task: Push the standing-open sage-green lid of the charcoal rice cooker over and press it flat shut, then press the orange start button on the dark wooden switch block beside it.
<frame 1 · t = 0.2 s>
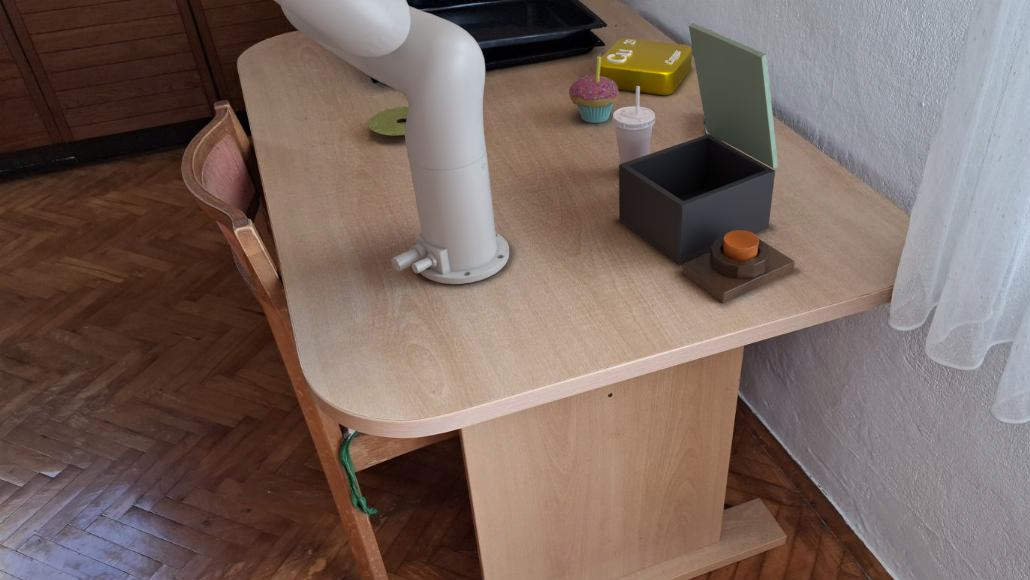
mat: (404, 131, 146), on the table
smoothie: (633, 174, 132), on the table
cooker: (693, 224, 120), on the table
cooker lid: (733, 96, 112), point 17 cm above the table, hinge at 75.0°
element tile: (644, 78, 162), on the table
packaged food: (732, 129, 144), on the table
cupcake: (594, 118, 148), on the table
switch block: (737, 272, 111), on the table
start button: (740, 245, 108), point 4 cm above the table, slide at 0.1 cm
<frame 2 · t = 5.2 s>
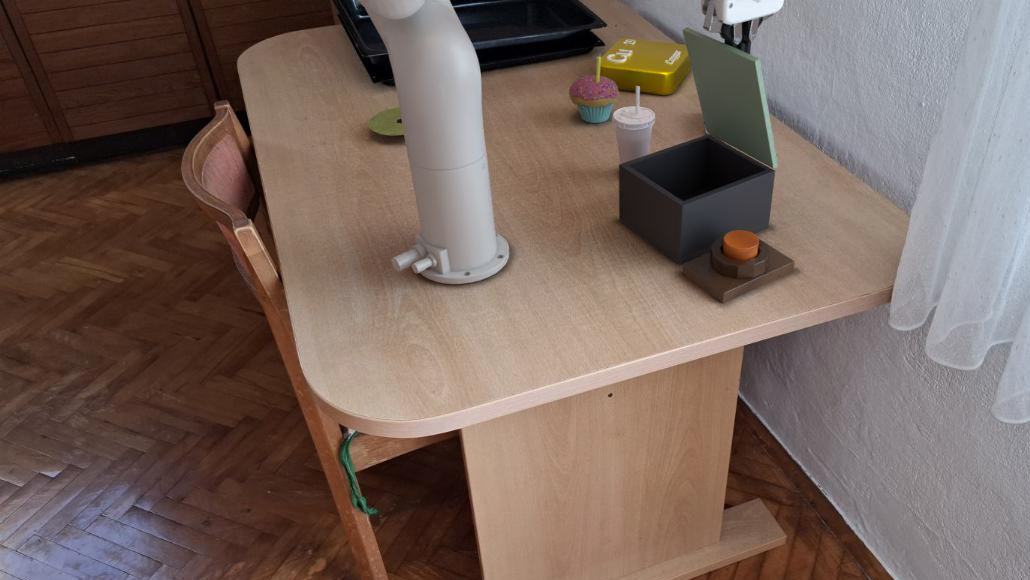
hand: (735, 70, 109), 21 cm above the table, tool pointing down, fingers closed
cooker lid: (730, 98, 112), point 17 cm above the table, hinge at 71.3°, touching gripper
everything else where it was.
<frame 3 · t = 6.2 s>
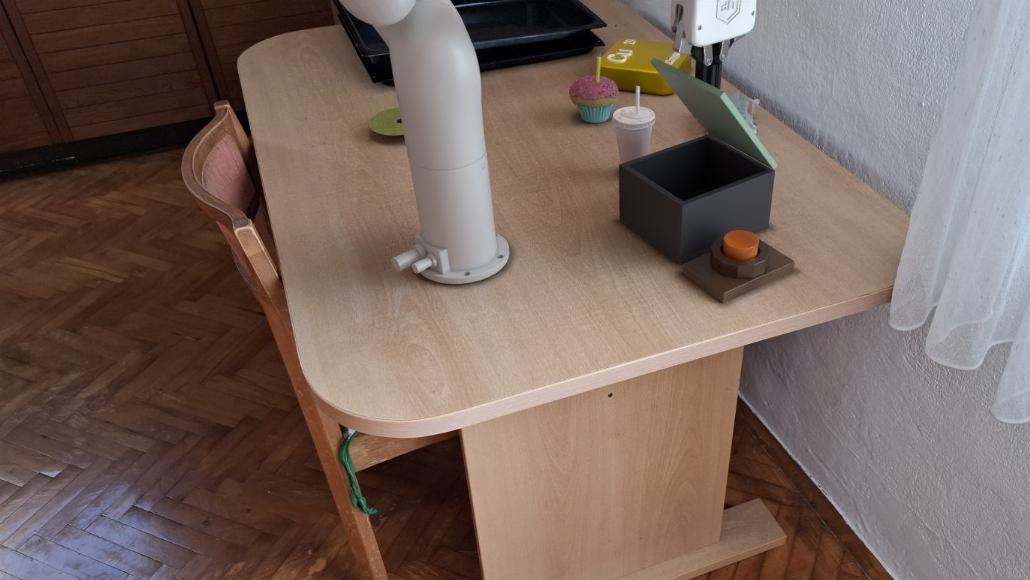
hand: (707, 90, 108), 19 cm above the table, tool pointing down, fingers closed
cooker lid: (714, 114, 111), point 16 cm above the table, hinge at 50.6°, touching gripper
everything else where it was.
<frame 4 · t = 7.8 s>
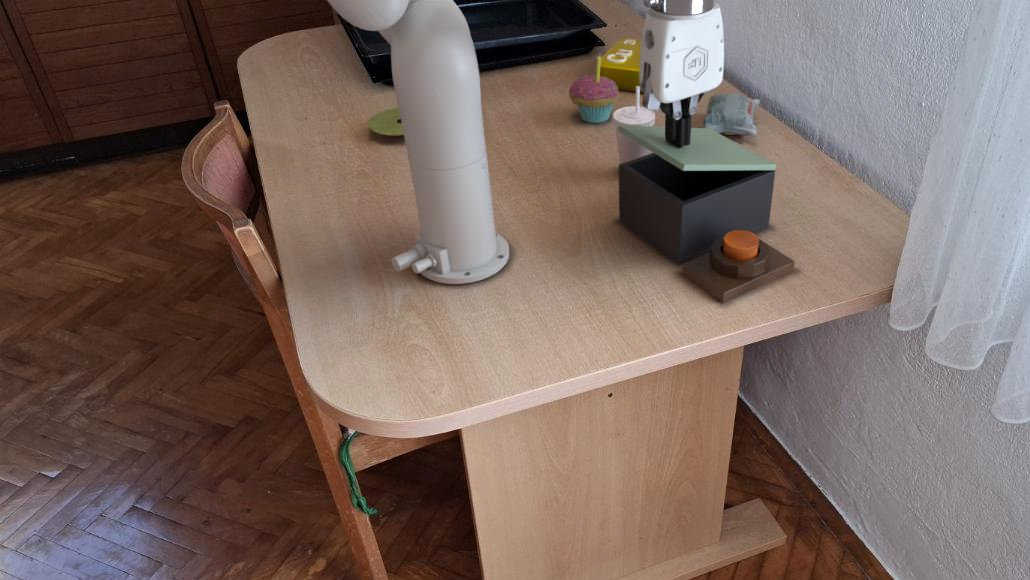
hand: (677, 142, 110), 14 cm above the table, tool pointing down, fingers closed
cooker lid: (697, 147, 113), point 12 cm above the table, hinge at 17.1°
everything else where it was.
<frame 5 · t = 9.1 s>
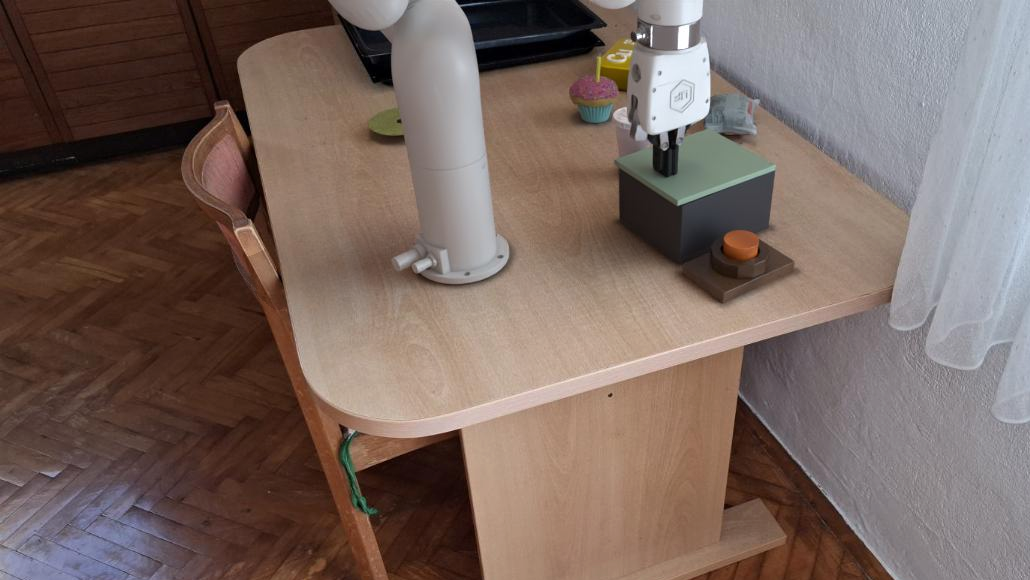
hand: (665, 171, 112), 10 cm above the table, tool pointing down, fingers closed
cooker lid: (694, 164, 114), point 9 cm above the table, hinge at 0.7°, touching gripper
everything else where it was.
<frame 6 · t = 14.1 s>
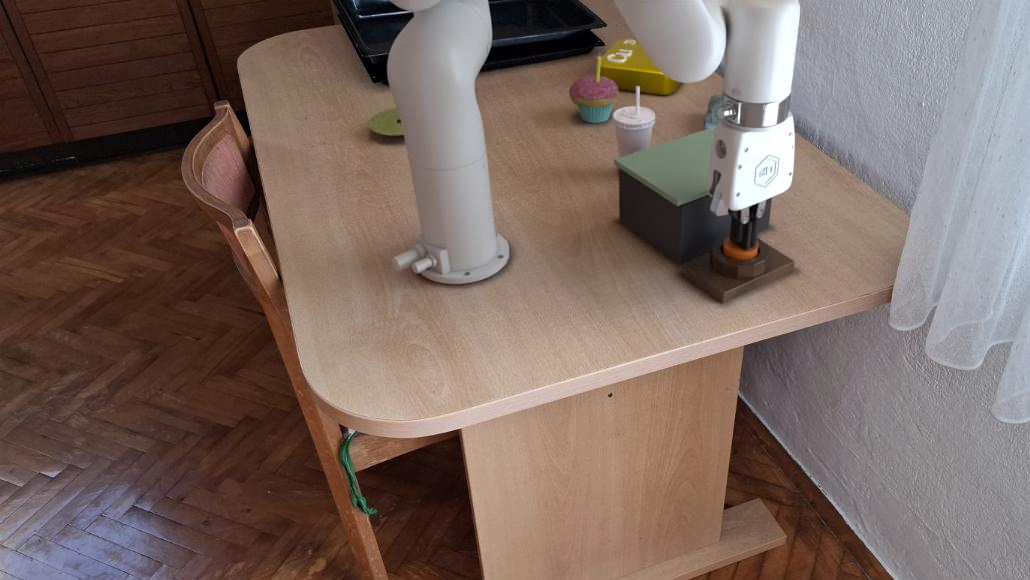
hand: (742, 243, 108), 5 cm above the table, tool pointing down, fingers closed
cooker lid: (694, 164, 114), point 9 cm above the table, hinge at 0.6°
start button: (740, 249, 109), point 4 cm above the table, slide at -0.6 cm, touching gripper
everything else where it was.
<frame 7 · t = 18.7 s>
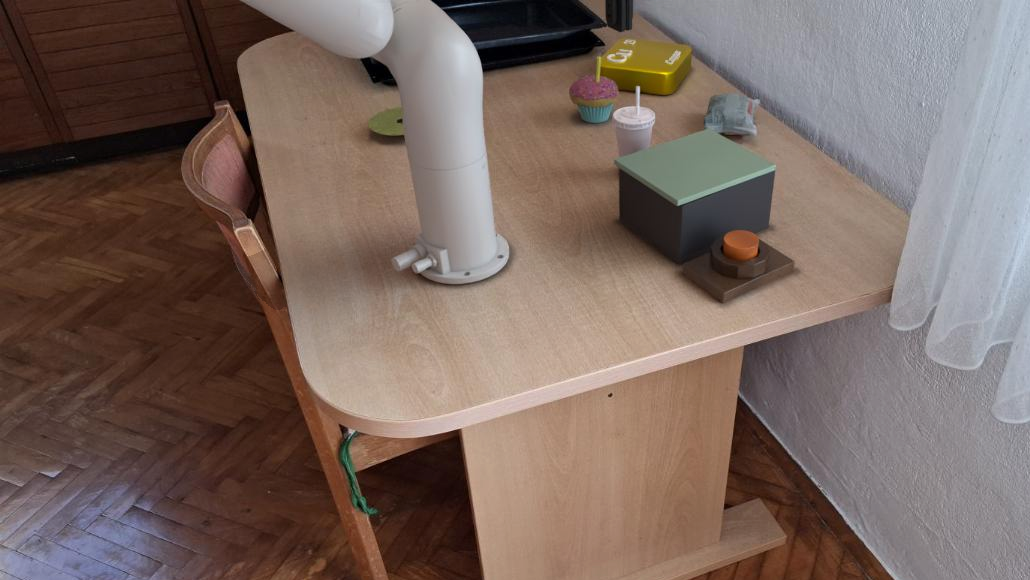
hand: (619, 27, 105), 27 cm above the table, tool pointing down, fingers closed
start button: (740, 245, 108), point 4 cm above the table, slide at 0.1 cm
everything else where it was.
at the end: cooker lid at +1° (first picture: +75°); start button pushed in 0.9 cm at the most during the clip, back to where it started at the end; start button slide at 0.1 cm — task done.
